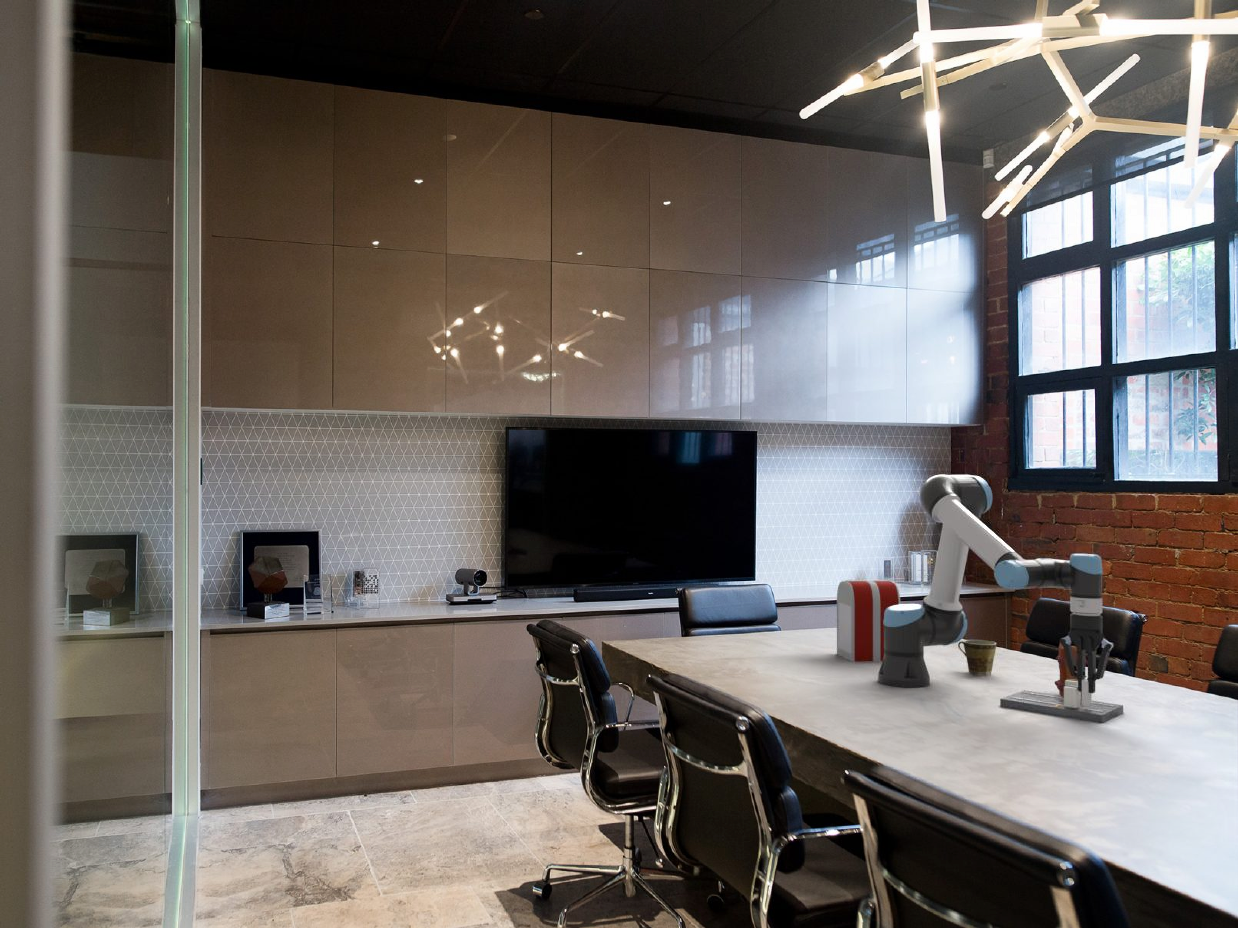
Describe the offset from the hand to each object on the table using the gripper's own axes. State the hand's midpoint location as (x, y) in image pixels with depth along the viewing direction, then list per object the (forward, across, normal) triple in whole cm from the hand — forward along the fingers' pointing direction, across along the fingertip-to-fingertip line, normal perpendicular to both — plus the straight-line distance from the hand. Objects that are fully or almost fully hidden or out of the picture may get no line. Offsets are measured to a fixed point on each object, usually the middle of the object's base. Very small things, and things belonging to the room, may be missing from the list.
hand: (1086, 704), depth 246 cm
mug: (+4, -13, +24) cm, 28 cm away
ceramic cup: (+4, -47, +38) cm, 61 cm away
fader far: (+1, -7, +9) cm, 11 cm away
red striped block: (+4, -86, +39) cm, 94 cm away
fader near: (+1, -4, 0) cm, 4 cm away
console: (+3, -8, +4) cm, 10 cm away
